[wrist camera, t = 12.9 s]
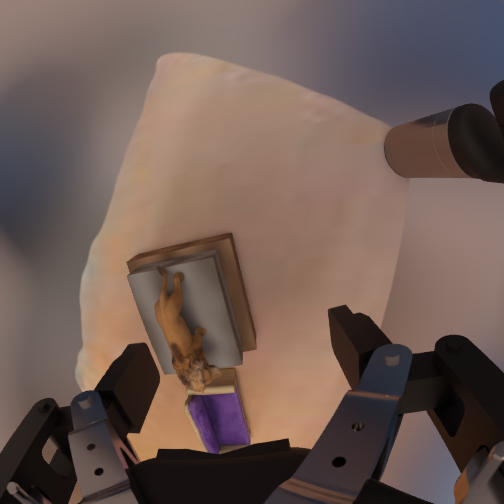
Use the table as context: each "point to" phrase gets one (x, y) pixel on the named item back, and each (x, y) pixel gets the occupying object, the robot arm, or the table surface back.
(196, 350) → the lion figurine
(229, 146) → the table surface
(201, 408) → the toy sofa
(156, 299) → the wooden box
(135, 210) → the table surface
